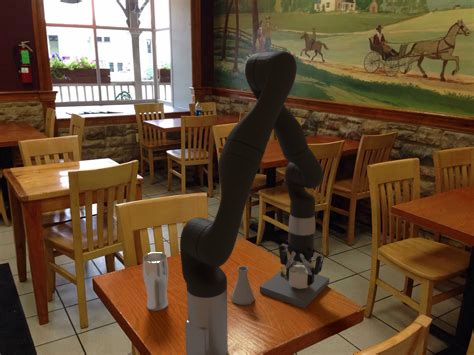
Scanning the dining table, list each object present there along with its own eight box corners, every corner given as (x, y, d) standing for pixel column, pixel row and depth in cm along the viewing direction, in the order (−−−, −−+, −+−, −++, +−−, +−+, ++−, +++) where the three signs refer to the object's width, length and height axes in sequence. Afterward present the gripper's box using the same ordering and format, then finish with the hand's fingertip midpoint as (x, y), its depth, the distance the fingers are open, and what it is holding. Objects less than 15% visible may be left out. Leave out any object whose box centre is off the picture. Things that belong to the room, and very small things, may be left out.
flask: (252, 307, 116) (253, 275, 114) (228, 304, 118) (227, 272, 115) (256, 293, 123) (257, 263, 121) (233, 291, 125) (233, 261, 122)
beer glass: (145, 313, 114) (142, 264, 110) (144, 300, 120) (141, 253, 116) (171, 309, 115) (168, 260, 112) (168, 296, 122) (166, 250, 118)
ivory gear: (304, 290, 119) (304, 276, 118) (285, 284, 122) (286, 270, 121) (313, 282, 123) (313, 268, 122) (295, 276, 127) (296, 263, 126)
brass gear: (296, 282, 126) (296, 273, 125) (275, 275, 130) (275, 266, 130) (307, 272, 132) (307, 264, 131) (287, 266, 136) (287, 258, 135)
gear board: (304, 308, 116) (304, 291, 114) (259, 292, 124) (259, 275, 123) (329, 283, 129) (330, 268, 127) (287, 270, 137) (287, 255, 136)
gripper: (273, 227, 119) (272, 279, 124) (319, 239, 111) (316, 294, 116) (286, 220, 125) (285, 270, 130) (330, 230, 117) (327, 283, 121)
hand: (299, 281), depth 123 cm, fingers closed on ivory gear, 6 cm apart
